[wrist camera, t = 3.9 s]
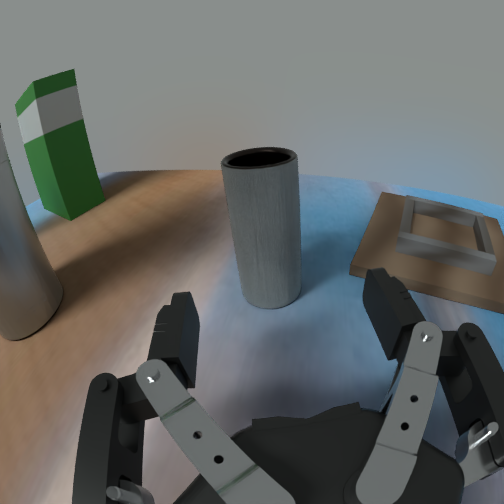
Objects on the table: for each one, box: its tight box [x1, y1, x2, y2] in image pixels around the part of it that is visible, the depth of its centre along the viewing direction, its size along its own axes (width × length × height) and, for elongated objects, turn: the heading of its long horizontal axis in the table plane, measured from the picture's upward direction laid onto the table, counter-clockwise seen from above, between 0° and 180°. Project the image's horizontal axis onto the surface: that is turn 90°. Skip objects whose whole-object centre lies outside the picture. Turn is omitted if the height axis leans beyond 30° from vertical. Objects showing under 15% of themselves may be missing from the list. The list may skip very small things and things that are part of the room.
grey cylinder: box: [221, 147, 301, 309], centre depth 19 cm, size 4×4×10 cm
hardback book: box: [15, 69, 105, 221], centre depth 40 cm, size 18×7×24 cm, turn 56°
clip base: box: [349, 192, 504, 314], centre depth 23 cm, size 16×16×2 cm
